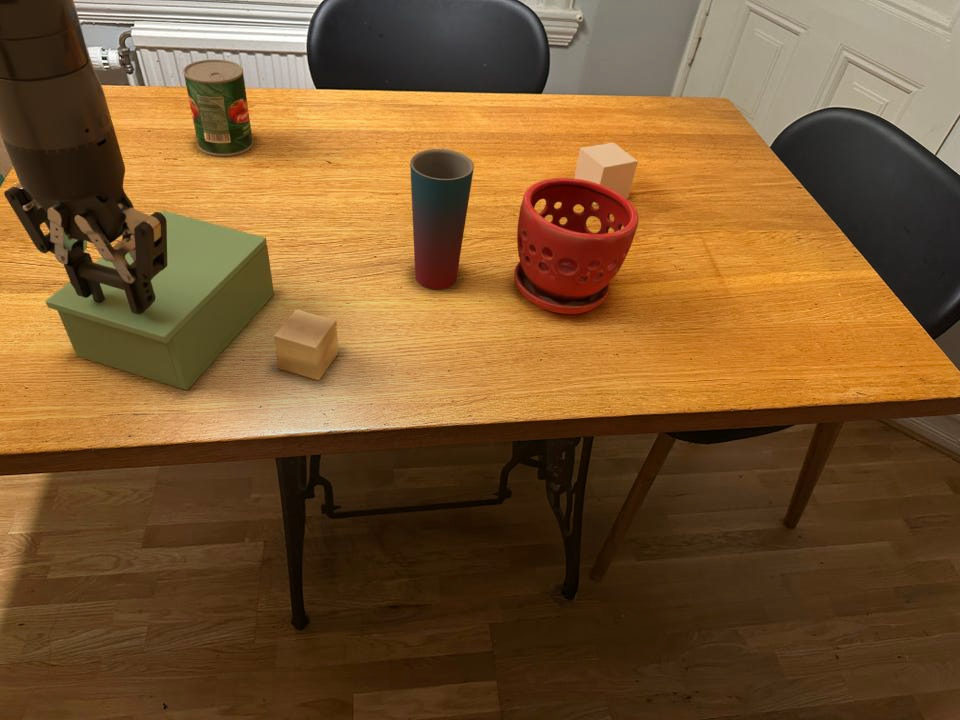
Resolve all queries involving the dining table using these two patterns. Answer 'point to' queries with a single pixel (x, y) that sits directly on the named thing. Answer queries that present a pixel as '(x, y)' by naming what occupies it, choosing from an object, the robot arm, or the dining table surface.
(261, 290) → the box
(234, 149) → the canned tomato
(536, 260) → the flower pot
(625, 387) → the dining table surface
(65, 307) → the lunchbox lid
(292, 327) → the wooden block
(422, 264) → the cup
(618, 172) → the beige cube
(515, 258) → the dining table surface
